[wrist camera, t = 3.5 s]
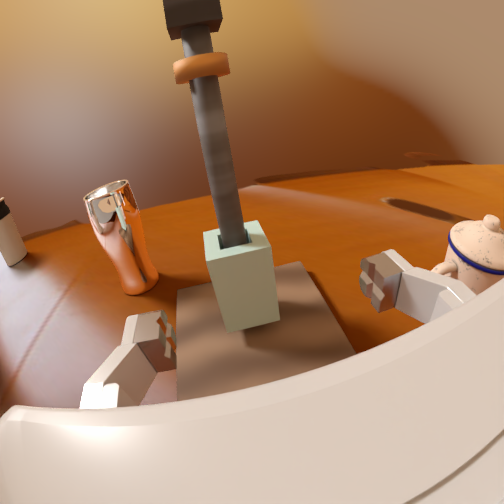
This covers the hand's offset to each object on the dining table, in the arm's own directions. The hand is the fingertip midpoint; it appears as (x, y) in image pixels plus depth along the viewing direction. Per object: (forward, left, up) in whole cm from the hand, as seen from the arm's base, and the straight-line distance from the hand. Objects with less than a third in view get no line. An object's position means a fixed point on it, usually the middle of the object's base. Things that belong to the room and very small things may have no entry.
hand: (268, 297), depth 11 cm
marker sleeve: (+9, +8, -12) cm, 17 cm away
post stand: (+9, +8, -15) cm, 19 cm away
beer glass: (+11, +28, -15) cm, 34 cm away
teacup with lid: (+17, -14, -15) cm, 27 cm away
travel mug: (+3, +81, -15) cm, 82 cm away
